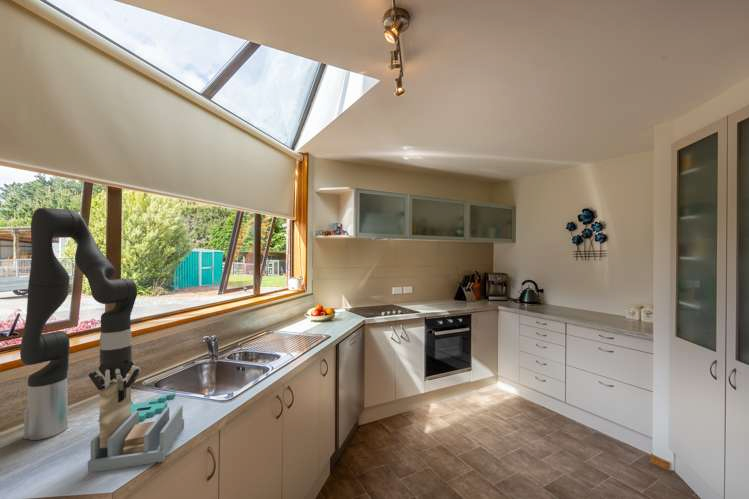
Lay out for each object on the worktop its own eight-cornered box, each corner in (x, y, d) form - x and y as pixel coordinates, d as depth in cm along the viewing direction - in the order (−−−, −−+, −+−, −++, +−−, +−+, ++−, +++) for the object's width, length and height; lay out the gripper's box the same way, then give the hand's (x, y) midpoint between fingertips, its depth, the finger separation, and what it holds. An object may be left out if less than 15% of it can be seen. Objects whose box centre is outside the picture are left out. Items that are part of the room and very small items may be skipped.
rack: (87, 472, 86) (87, 443, 86) (122, 435, 104) (122, 411, 104) (162, 461, 91) (162, 434, 91) (184, 427, 108) (184, 404, 108)
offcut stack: (121, 462, 91) (121, 444, 91) (136, 439, 102) (136, 422, 102) (147, 457, 93) (147, 439, 93) (159, 434, 104) (159, 418, 104)
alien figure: (118, 404, 126) (87, 432, 106) (118, 398, 126) (87, 425, 106) (175, 397, 131) (155, 423, 112) (175, 392, 131) (155, 417, 112)
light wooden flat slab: (99, 448, 89) (99, 391, 89) (123, 423, 102) (123, 374, 102) (108, 447, 90) (107, 391, 90) (130, 423, 102) (130, 373, 102)
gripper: (80, 350, 90) (81, 411, 90) (136, 346, 94) (136, 404, 94) (96, 343, 98) (97, 398, 98) (147, 339, 101) (148, 393, 101)
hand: (116, 401), depth 96 cm, fingers closed on light wooden flat slab, 2 cm apart
